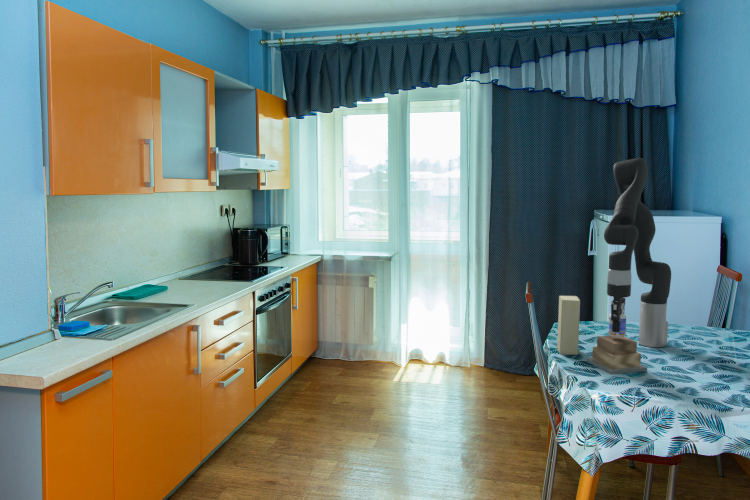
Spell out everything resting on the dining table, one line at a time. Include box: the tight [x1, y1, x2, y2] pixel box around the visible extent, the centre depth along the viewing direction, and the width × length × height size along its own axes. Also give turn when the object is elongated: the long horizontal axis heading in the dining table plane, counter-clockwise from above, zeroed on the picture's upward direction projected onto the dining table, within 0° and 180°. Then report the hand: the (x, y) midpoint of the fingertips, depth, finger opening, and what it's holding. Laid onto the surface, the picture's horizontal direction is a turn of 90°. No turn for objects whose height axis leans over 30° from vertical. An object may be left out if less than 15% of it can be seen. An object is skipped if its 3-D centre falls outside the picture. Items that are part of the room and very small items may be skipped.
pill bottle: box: [608, 308, 627, 337], centre depth 185 cm, size 5×5×10 cm
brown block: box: [591, 335, 642, 369], centre depth 186 cm, size 11×11×8 cm
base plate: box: [585, 357, 648, 375], centre depth 187 cm, size 14×14×1 cm
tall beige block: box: [556, 295, 581, 356], centre depth 203 cm, size 8×7×21 cm
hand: (617, 329), depth 185 cm, fingers closed on pill bottle, 5 cm apart
